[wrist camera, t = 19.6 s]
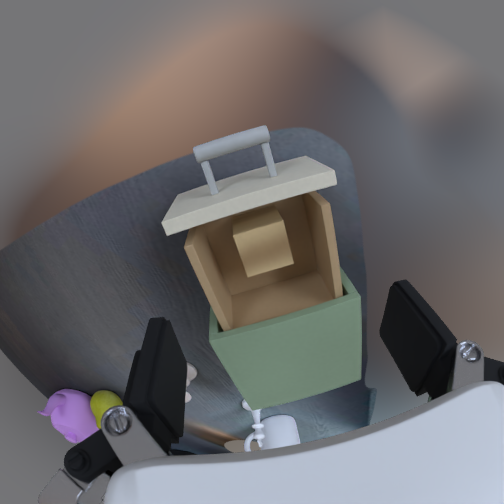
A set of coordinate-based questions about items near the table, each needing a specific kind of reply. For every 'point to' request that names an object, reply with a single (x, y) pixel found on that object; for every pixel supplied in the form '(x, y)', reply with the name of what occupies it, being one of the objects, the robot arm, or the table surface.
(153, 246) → the table surface
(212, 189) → the drawer
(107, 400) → the fruit
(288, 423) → the mug
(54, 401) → the teapot
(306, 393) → the cabinet
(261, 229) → the block
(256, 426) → the chess piece
